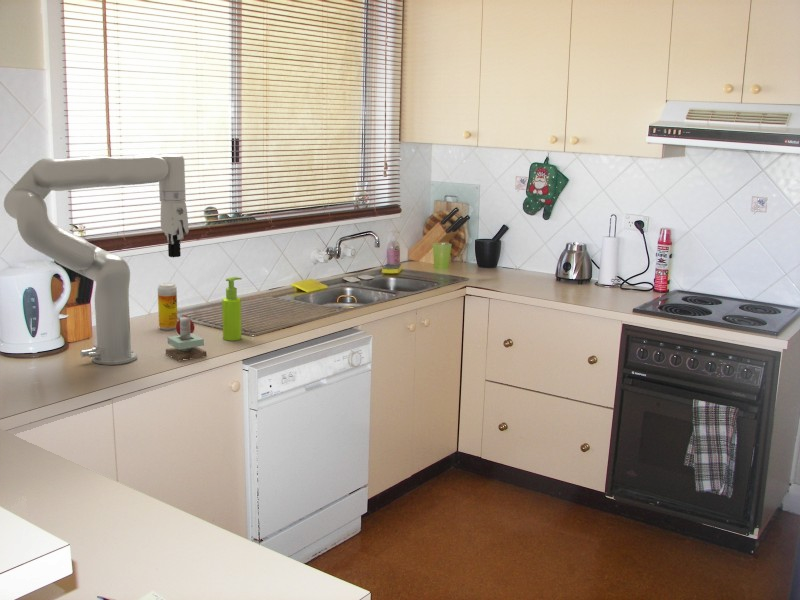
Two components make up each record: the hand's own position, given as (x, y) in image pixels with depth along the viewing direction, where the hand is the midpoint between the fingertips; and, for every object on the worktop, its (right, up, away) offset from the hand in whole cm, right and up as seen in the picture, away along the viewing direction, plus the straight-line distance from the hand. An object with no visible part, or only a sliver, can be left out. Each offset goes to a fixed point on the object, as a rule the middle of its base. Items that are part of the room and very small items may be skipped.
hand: (174, 256), depth 263 cm
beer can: (-10, -23, +30) cm, 39 cm away
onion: (-1, -26, +18) cm, 31 cm away
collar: (+4, -27, -1) cm, 27 cm away
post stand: (+3, -30, 0) cm, 30 cm away
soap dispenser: (+14, -26, +20) cm, 35 cm away
